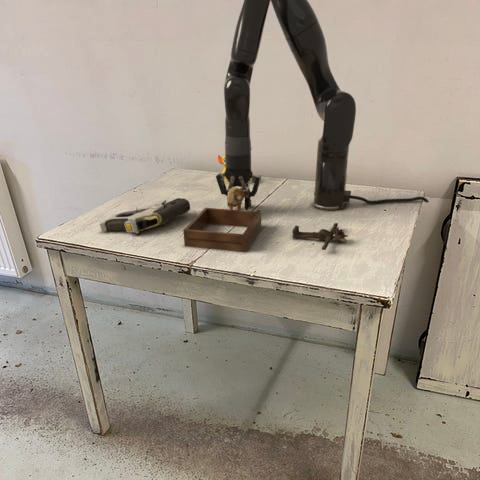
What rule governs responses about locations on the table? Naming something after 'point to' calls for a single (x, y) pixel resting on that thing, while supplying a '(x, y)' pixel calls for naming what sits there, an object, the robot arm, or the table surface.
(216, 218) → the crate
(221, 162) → the duckling
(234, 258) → the table surface
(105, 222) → the toy blaster
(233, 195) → the lion figurine
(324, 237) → the brown humanoid figurine
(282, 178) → the table surface
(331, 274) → the table surface
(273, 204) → the table surface
